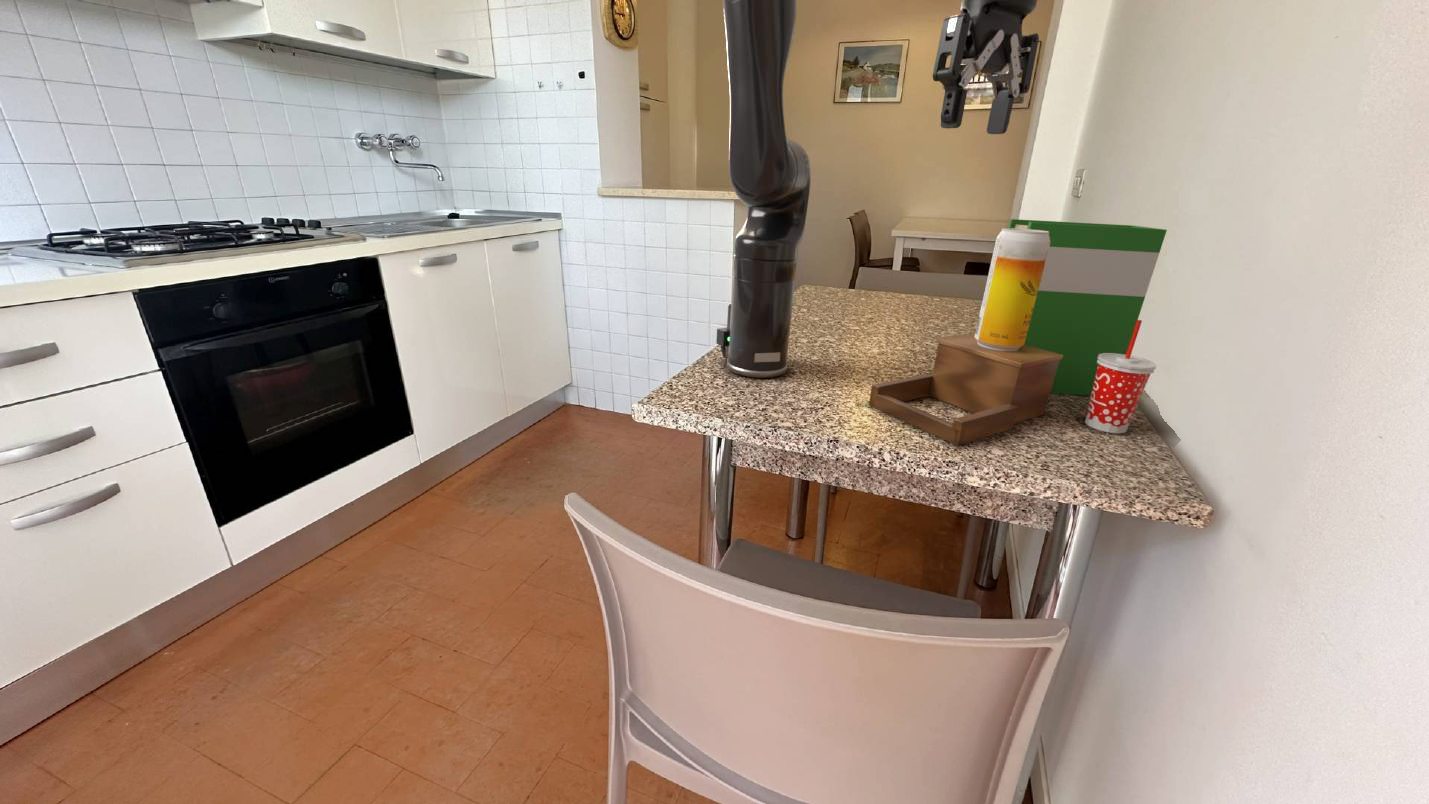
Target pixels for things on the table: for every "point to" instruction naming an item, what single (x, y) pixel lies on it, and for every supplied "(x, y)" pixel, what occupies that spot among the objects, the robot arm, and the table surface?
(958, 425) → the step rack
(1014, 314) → the beer can
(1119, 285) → the hardback book
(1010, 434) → the table surface
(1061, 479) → the table surface
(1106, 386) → the beverage cup
